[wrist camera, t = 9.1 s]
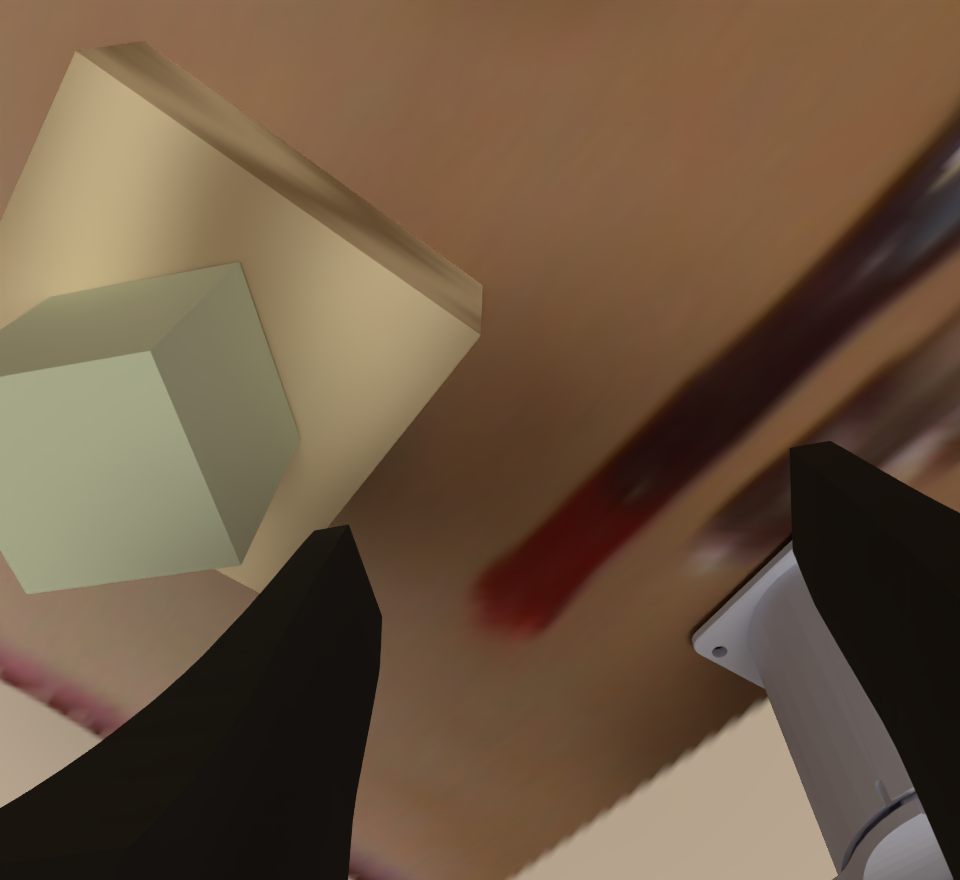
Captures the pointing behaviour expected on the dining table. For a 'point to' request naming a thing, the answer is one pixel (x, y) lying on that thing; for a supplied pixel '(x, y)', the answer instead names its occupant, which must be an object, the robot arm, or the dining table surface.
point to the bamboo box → (242, 265)
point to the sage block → (138, 431)
